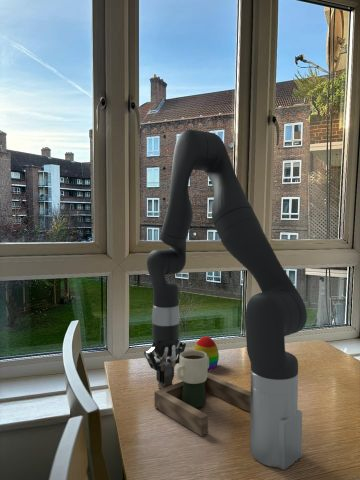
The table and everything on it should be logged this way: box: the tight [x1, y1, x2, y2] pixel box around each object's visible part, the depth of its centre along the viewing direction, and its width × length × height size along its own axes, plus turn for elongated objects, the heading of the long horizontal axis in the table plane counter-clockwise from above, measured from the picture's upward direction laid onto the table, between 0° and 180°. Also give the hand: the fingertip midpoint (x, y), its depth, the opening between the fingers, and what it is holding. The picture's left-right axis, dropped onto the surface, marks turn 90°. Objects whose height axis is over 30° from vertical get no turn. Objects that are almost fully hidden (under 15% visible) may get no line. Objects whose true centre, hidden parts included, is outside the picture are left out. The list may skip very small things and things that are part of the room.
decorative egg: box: [193, 335, 220, 372], centre depth 122 cm, size 8×8×10 cm
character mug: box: [176, 349, 209, 409], centre depth 98 cm, size 11×7×13 cm, turn 131°
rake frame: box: [153, 360, 251, 437], centre depth 99 cm, size 26×18×7 cm
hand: (165, 380), depth 108 cm, fingers closed on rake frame, 2 cm apart
